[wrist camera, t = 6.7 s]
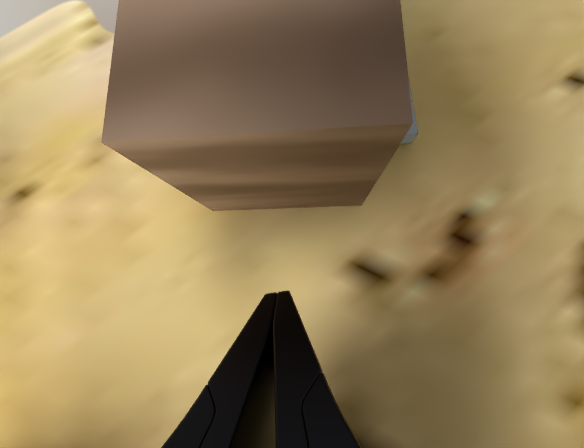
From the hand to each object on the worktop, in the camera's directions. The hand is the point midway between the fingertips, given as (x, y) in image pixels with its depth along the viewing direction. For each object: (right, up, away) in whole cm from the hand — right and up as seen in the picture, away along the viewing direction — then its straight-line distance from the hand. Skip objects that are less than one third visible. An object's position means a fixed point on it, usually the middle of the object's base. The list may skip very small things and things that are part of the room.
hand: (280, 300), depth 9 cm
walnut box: (0, +12, +11) cm, 16 cm away
